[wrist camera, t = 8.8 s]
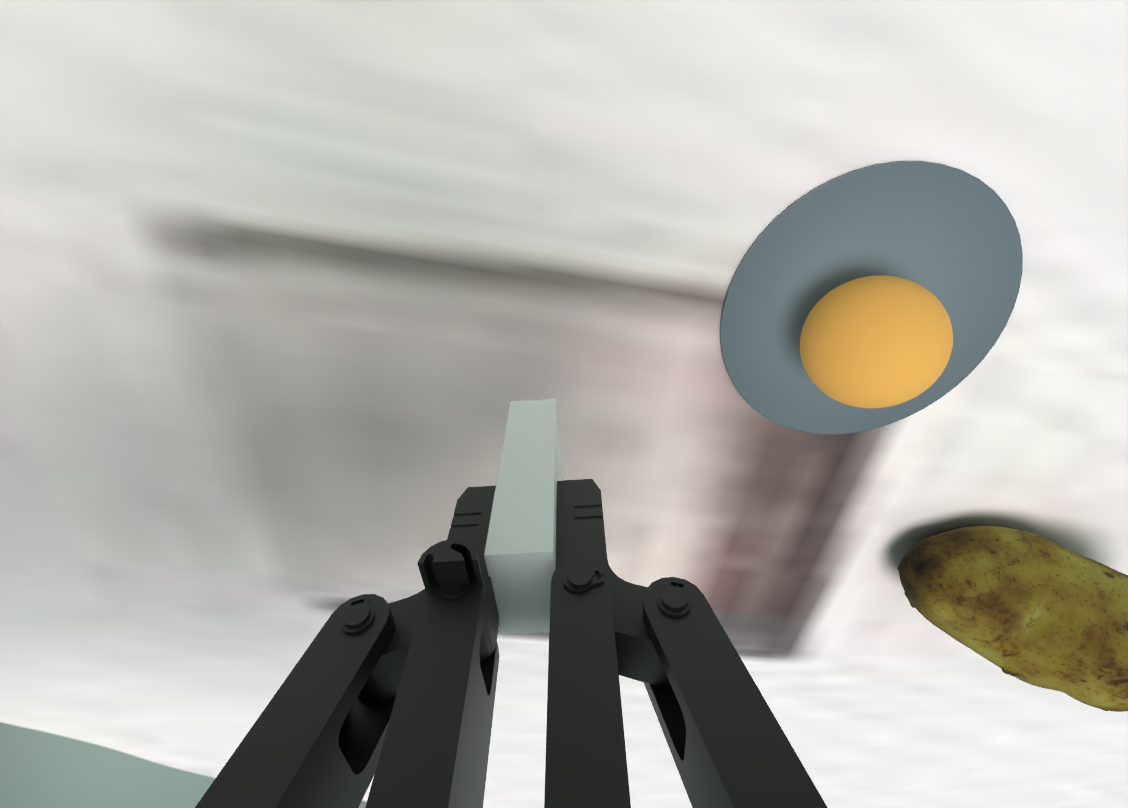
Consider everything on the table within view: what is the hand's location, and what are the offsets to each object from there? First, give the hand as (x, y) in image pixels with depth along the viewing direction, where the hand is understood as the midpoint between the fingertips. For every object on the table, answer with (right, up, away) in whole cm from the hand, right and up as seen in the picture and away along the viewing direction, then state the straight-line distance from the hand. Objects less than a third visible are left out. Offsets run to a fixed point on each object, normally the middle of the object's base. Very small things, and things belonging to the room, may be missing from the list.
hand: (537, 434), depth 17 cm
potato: (+27, -8, +15) cm, 32 cm away
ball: (+14, +4, +4) cm, 15 cm away
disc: (+15, +5, +7) cm, 17 cm away
